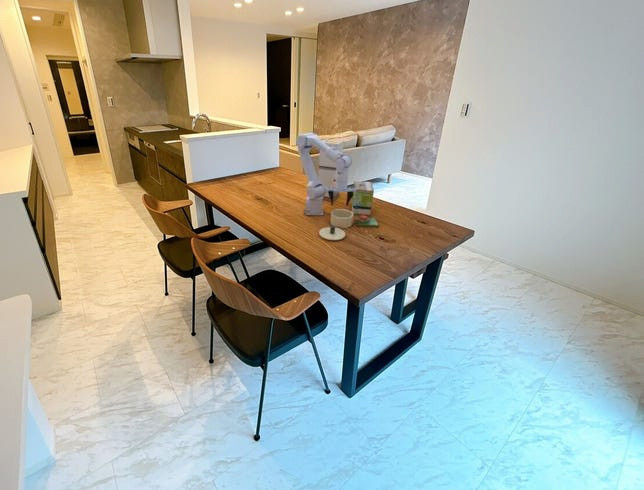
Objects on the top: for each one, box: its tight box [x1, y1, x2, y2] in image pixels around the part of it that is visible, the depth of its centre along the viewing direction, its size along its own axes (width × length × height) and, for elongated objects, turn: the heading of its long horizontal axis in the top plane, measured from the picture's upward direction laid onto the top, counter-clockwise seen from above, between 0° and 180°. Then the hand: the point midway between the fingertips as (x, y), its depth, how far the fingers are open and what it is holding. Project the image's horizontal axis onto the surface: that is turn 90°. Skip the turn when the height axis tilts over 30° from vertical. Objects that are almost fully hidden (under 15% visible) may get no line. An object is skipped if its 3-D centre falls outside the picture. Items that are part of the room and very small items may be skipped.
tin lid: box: [318, 225, 346, 241], centre depth 143 cm, size 12×12×4 cm
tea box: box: [351, 180, 375, 216], centre depth 167 cm, size 15×10×15 cm
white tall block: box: [317, 138, 345, 202], centre depth 182 cm, size 11×11×35 cm
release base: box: [355, 215, 379, 228], centre depth 154 cm, size 10×8×3 cm
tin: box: [329, 208, 355, 229], centre depth 154 cm, size 11×11×5 cm
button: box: [359, 214, 368, 220], centre depth 153 cm, size 3×3×2 cm
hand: (339, 205), depth 153 cm, fingers open, 7 cm apart
